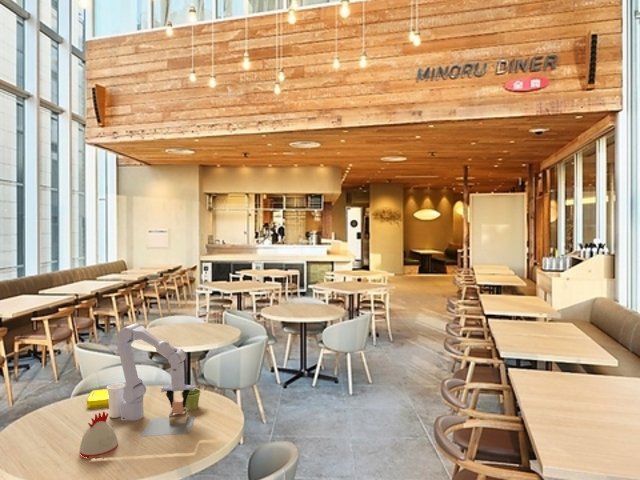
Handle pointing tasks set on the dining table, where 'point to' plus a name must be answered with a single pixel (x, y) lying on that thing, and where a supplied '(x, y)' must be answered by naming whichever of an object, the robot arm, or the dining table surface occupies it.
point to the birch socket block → (178, 417)
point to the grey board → (167, 427)
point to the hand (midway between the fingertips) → (178, 406)
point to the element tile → (98, 399)
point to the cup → (115, 399)
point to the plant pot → (192, 399)
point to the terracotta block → (178, 405)
